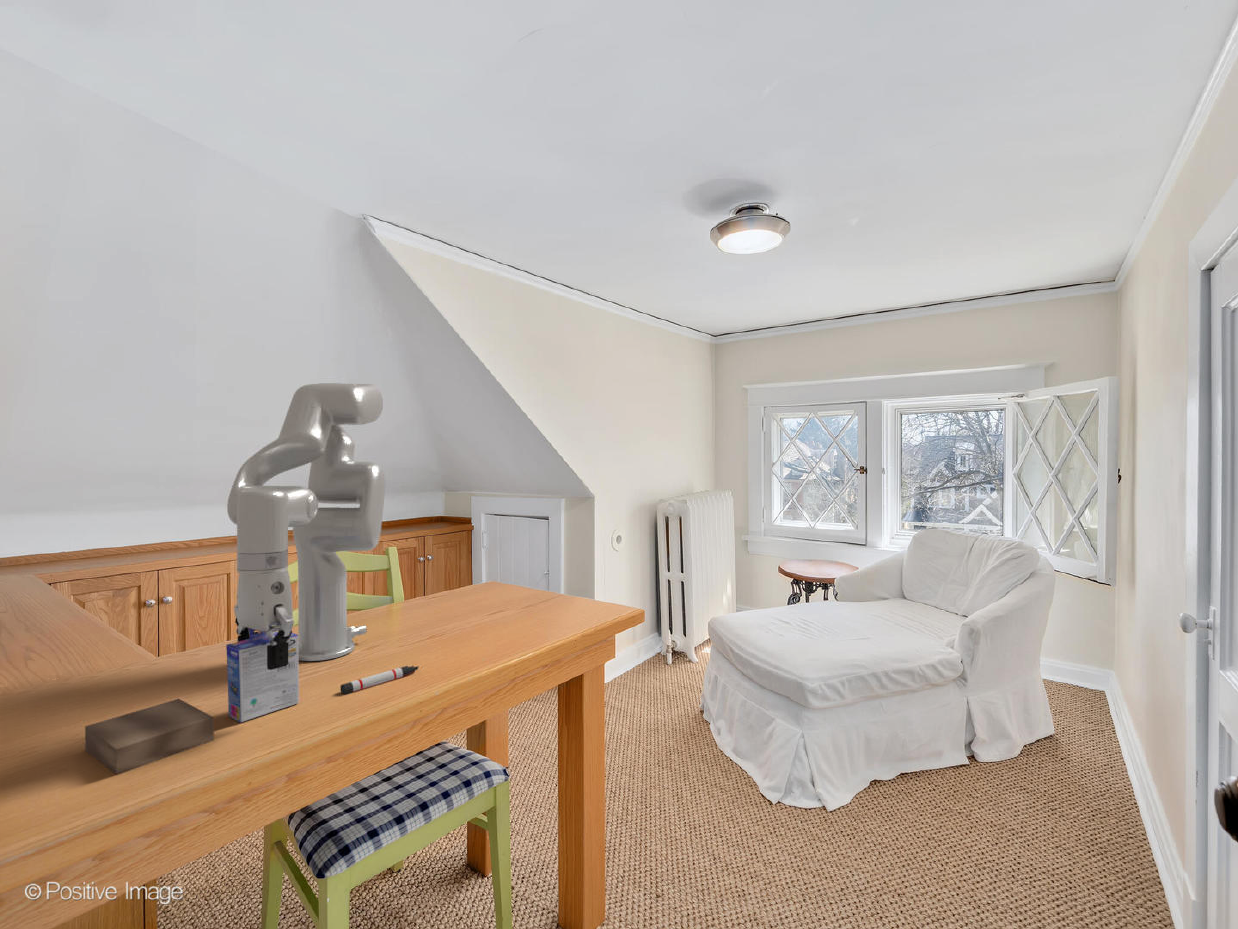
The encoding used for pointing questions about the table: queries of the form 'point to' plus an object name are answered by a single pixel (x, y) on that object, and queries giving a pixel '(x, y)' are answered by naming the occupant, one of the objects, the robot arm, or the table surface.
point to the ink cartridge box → (260, 678)
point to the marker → (377, 679)
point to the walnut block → (148, 735)
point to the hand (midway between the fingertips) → (262, 662)
